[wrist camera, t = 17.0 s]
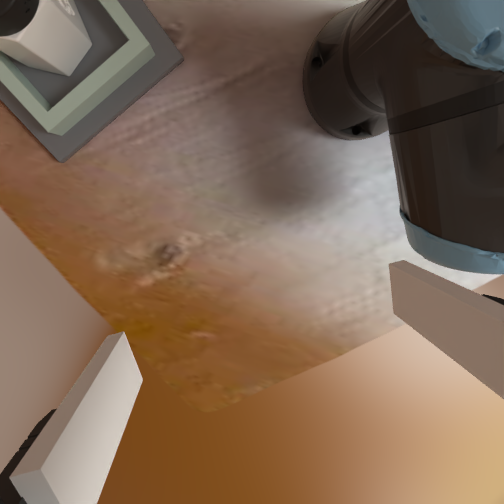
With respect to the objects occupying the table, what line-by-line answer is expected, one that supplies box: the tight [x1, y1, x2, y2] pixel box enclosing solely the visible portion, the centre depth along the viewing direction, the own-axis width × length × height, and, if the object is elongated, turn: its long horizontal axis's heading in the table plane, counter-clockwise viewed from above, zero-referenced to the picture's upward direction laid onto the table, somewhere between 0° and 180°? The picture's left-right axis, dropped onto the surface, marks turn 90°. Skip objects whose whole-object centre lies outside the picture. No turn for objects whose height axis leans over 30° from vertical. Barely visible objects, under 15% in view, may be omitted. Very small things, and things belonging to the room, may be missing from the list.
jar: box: [0, 0, 92, 76], centre depth 27 cm, size 9×8×12 cm
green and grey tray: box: [0, 0, 184, 163], centre depth 32 cm, size 20×20×4 cm
